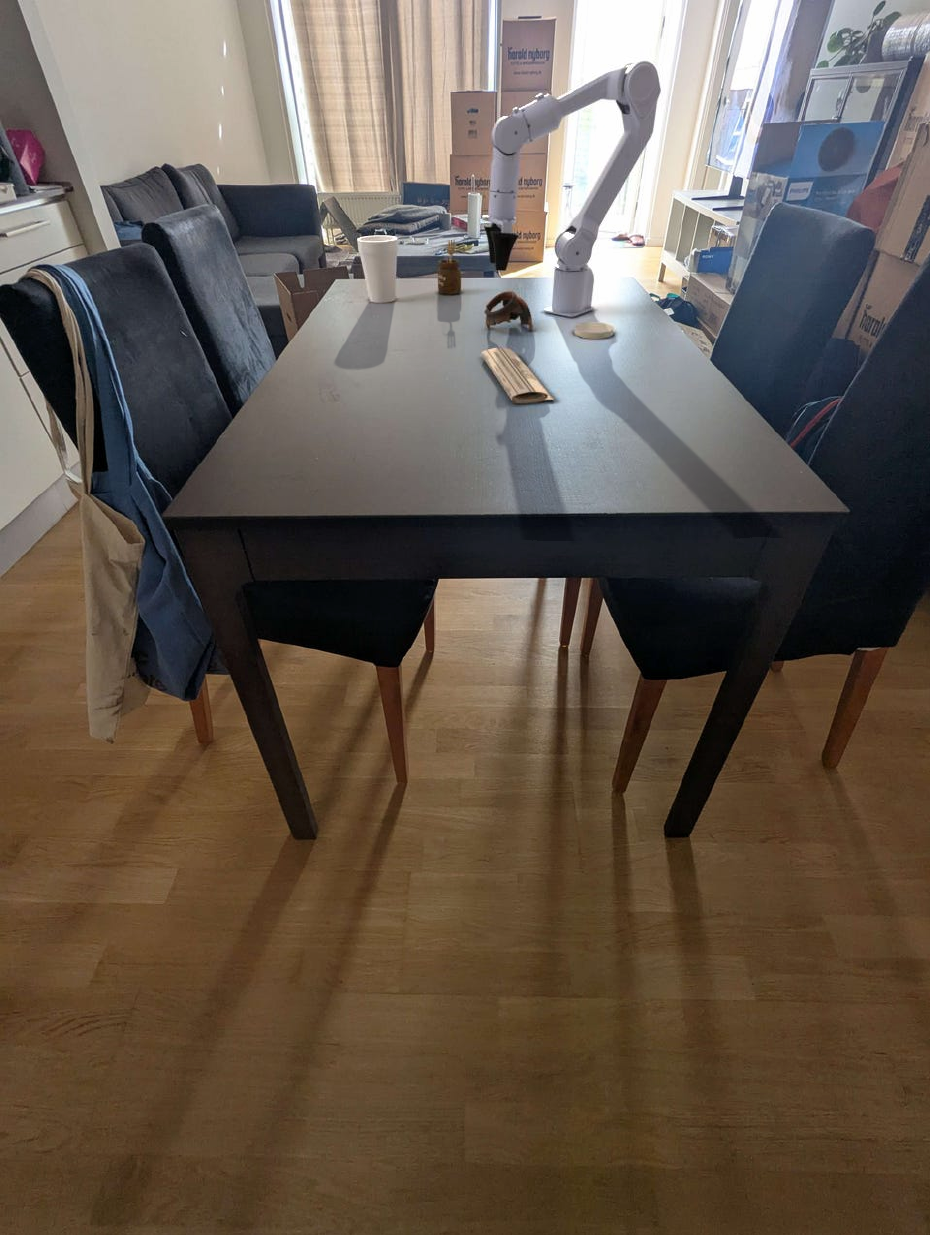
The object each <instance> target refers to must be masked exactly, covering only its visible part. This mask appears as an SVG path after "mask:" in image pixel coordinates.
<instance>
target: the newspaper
mask: <svg viewBox="0 0 930 1235" xmlns="http://www.w3.org/2000/svg"><path fill="white" fill-rule="evenodd" d="M481 357H482V358H483V360H484V361H485V363H486V364H487V366H488V367H489V369H490V370H491V372H492V373H493V374H494V377H495V378H496V379H497V381H498V382H499V383H500V385H501V387H502V388H503V390H504V391H505V393H506V394H507V396H508V397H509V399H510V400H511V401H512V402H513V403H515V404H530V403H540V402H543V401H551V400H552V401H555V399H554V398H553V397H552V396H551V394H550V393H549V392H548V391H547V390H546V388H545V387H544V386H543V385H542V383H541V382H540V381H539V379H538V378H537V377H536V376H535V374H534V373H533V372H532V371H531V370H530V369H529V367H528V366H527V364H525V362H524V361H523V360H522V358H521V357H520V356H519V355H517V354H516V353H515V352H514V351H513V350H512V349H510V348H507V347H492V348H489V349H485V350H482V351H481Z"/></svg>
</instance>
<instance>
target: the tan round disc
mask: <svg viewBox="0 0 930 1235" xmlns="http://www.w3.org/2000/svg"><path fill="white" fill-rule="evenodd" d="M614 328H615V327H614V326H613V325H612V324H609V323H605V322H599V321H598V322H597V321H586V322H580V323H577V324H575V325H574V331H573V334H574V335H575V336H577V337H579V338H584V339H588V340H589V339H590V340H602V339H608V338H611V337H612V336H614Z"/></svg>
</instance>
